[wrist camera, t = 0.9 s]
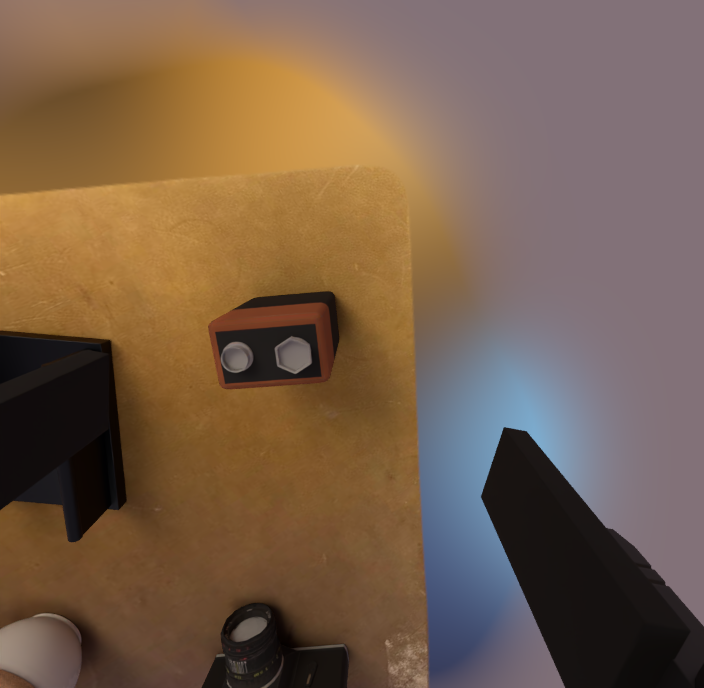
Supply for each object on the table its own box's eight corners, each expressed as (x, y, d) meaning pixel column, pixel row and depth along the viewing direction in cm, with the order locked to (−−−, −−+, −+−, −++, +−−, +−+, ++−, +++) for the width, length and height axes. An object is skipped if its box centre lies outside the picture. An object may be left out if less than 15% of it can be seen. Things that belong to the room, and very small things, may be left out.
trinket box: (97, 600, 40) (19, 707, 31) (107, 674, 43) (38, 792, 34) (-4, 591, 40) (-112, 695, 31) (13, 665, 43) (-81, 780, 34)
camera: (337, 585, 40) (324, 677, 30) (352, 681, 41) (344, 801, 31) (202, 598, 41) (146, 691, 31) (220, 690, 42) (170, 810, 32)
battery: (340, 342, 31) (329, 390, 22) (259, 349, 32) (212, 398, 22) (335, 289, 30) (320, 314, 20) (250, 297, 30) (197, 325, 21)
